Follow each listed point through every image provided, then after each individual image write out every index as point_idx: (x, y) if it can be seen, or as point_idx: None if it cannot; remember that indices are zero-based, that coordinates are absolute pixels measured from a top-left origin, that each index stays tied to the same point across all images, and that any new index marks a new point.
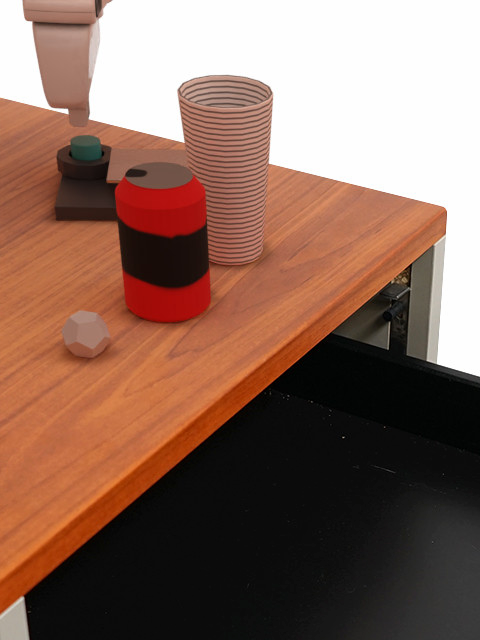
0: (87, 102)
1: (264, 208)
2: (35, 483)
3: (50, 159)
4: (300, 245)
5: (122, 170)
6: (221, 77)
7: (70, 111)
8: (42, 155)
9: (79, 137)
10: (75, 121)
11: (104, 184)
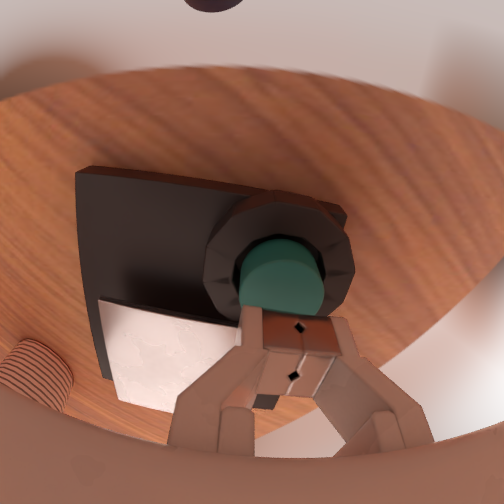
0: (303, 396)
1: None
2: None
3: (411, 181)
4: (79, 409)
5: (146, 334)
6: None
7: (239, 343)
8: (432, 170)
9: (306, 286)
10: (239, 327)
11: (183, 279)
